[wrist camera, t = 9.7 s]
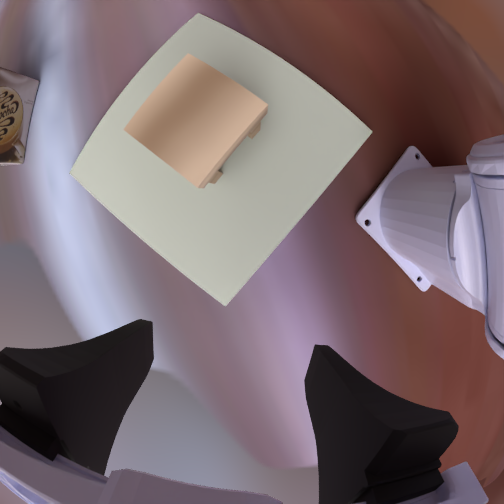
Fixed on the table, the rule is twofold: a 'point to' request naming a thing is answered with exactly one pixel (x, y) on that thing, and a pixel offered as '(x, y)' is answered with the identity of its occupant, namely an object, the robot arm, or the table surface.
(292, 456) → the table surface
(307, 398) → the robot arm
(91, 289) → the table surface
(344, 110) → the mat
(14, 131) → the coffee box
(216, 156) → the stool
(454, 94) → the table surface
